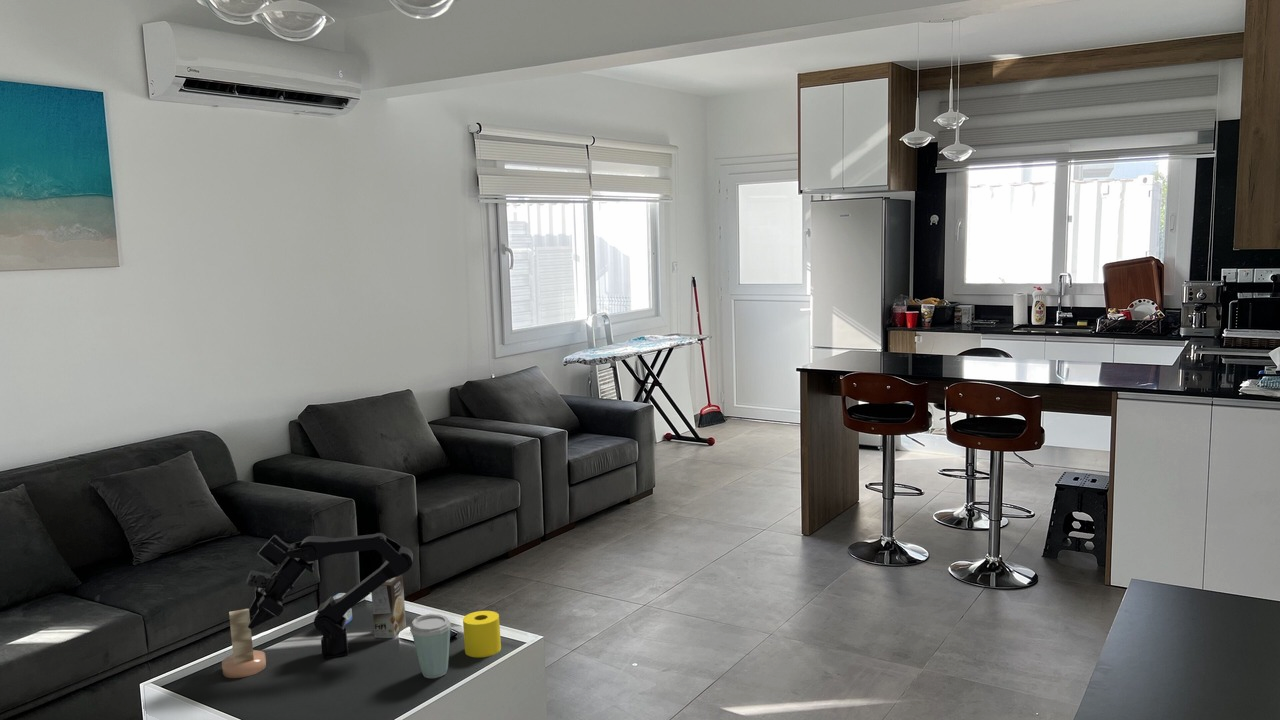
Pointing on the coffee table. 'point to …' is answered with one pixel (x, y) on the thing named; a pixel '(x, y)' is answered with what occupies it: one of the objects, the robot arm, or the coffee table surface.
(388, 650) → the coffee table surface
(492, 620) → the yellow toilet paper roll
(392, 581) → the coffee box
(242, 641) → the birch block
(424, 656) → the disposable coffee cup
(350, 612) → the medicine box
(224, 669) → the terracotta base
